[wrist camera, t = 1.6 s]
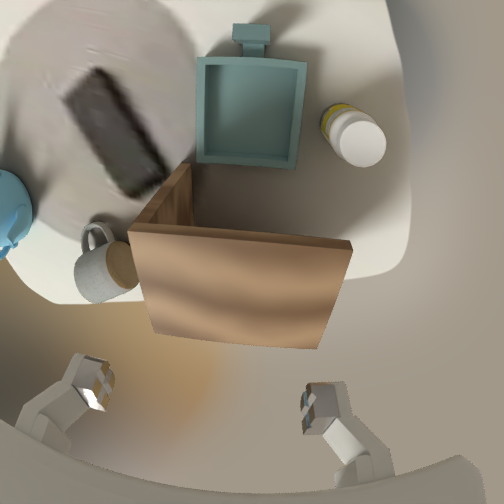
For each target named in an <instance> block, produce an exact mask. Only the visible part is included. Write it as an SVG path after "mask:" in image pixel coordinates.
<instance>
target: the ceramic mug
mask: <svg viewBox="0 0 504 504" xmlns="http://www.w3.org/2000/svg"><path fill="white" fill-rule="evenodd" d="M95 227H96V228H101V229H102V231H103V232H104V234H105V236H106V239H107V241H108V243H107V244H105V245H102V246H100V247H98V248H96V249H93V250H91V251H90V248H89V243H88V234H89V231H90V230H91V229H93V228H95ZM81 247H82V252H83V255H81V256H80V257H79V258H78V260H77V261H76V263H75V267H74V279H75V283H76V286H77V288H78V290H79V292H80V293H81V295H82V296H83V297H84V298H85V299H86V300H88V301H89V302H92V303H102V302H105V301H107V300H109V299H112V298H114V297H116V296H119V295H121V294H124V293H126V292H128V291H130V290H132V289H133V288H135V287H136V286H137V284H138V283H139V279H138V275H137V271H136V267H135V263H134V259H133V255H132V250H131V246H130V245H128V244H127V243H125V242H123V241H115V239H114V235H113V233H112V231H111V230H110V228H109V227H108V225H106V224H105V223H103V222H99V221H97V222H93V223H90V224H88V225H87V226H86V227H84V229H83V231H82V235H81Z"/></svg>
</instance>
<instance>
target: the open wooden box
mask: <svg viewBox="0 0 504 504" xmlns="http://www.w3.org/2000/svg"><path fill="white" fill-rule="evenodd" d="M127 233H128V237H129V242H130V246H131V250H132V255H133V259H134V263H135V267H136V271H137V275H138V279H139V282H140V286H141V290H142V293H143V297H144V300H145V303H146V307H147V310H148V314H149V317H150V320H151V323H152V326H153V329H154V332H155V333H158V334H164V335H171V336H177V337H184V338H191V339H198V340H206V341H215V342H224V343H232V344H243V345H253V346H266V347H280V348H298V349H317V347H318V344H319V342H320V340H321V338H322V335H323V332H324V330H325V328H326V325H327V323H328V320H329V317H330V315H331V312H332V310H333V307H334V305H335V302H336V299H337V296H338V294H339V290H340V288H341V285H342V283H343V280H344V277H345V274H346V271H347V268H348V265H349V262H350V259H351V256H352V253H353V248H352V245H351V243H350V241H349V240H340V239H330V238H320V237H310V236H299V235H288V234H278V233H266V232H255V231H243V230H231V229H219V228H206V227H194V217H193V198H192V175H191V163H180V165H179V166H178V167H177V168H176V169H175V171H174V172H173V173H172V174H171V175H170V177H169V178H168V179H167V180H166V181H165V183H164V184H163V185H162V186H161V188H160V189H159V190H158V191H157V192H156V194H155V195H154V196H153V198H152V199H151V200H150V201H149V203H148V204H147V205H146V207H145V208H144V209H143V210H142V212H141V213H140V214H139V216H138V217H137V218H136V220H135V221H134V223H133V224H132V225H131V227H130V228H129V229H128V231H127Z"/></svg>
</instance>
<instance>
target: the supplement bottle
mask: <svg viewBox="0 0 504 504" xmlns="http://www.w3.org/2000/svg"><path fill="white" fill-rule="evenodd" d="M320 130H321V132H322V134H323V136H324V138H325V139H326V140H327V142H328V143H329V144H330V146H331V147H332V149H333V150H334V152H335V153H336V154H337V155H338V156H339V157H340V158H342V159H343V160H345V161H348V162H349V163H350V164H352V165H354V166H357V167H369V166H372V165H374V164H376V163H377V162H379V161H380V160H381V158H382V157H383V155H384V153H385V151H386V138H385V135H384V133H383V131H382V130H381V128H380V127H379V126H378V125H377V123H376V122H375V120H374V119H373V118H372V117H370V116H369V115H368V114H366V113H364V112H362V111H360V110H358V109H356V108H354V107H352V106H350V105H348V104H343V103H338V104H334V105H331V106H329V107H328V108H327V109H326V110H325V111H324V112H323V113H322V115H321V118H320Z"/></svg>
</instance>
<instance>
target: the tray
mask: <svg viewBox="0 0 504 504" xmlns="http://www.w3.org/2000/svg"><path fill="white" fill-rule="evenodd" d="M270 38H271V25H263V24H233V32H232V40H234V41H235V42H237V43H238V44H243V53H242V57H197V82H196V161H197V163H211V164H231V165H246V166H259V167H271V168H281V169H291V170H295V169H296V161H297V153H298V145H299V137H300V129H301V120H302V111H303V102H304V93H305V83H306V73H307V62H299V61H291V60H282V59H270V58H264V49H265V45H267V46H270Z"/></svg>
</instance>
